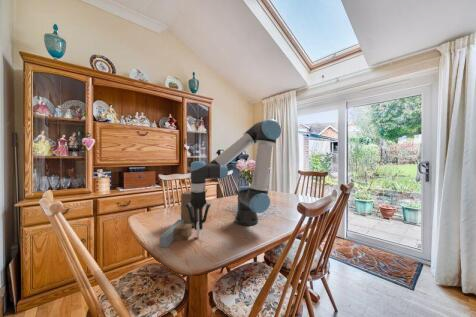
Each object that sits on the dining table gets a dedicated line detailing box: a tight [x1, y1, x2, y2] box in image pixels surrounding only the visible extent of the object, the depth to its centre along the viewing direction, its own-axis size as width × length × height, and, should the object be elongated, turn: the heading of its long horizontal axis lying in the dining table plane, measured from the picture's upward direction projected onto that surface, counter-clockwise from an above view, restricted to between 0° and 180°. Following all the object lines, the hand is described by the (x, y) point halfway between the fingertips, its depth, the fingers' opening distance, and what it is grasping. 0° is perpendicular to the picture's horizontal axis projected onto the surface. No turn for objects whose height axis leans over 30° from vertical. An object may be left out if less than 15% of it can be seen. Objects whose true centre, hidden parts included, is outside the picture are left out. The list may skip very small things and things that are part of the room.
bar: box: [159, 219, 184, 248], centre depth 106 cm, size 4×24×5 cm, turn 176°
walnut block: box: [173, 224, 193, 241], centre depth 106 cm, size 7×7×6 cm
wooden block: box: [180, 190, 199, 228], centre depth 125 cm, size 10×10×20 cm
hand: (198, 235), depth 106 cm, fingers closed
